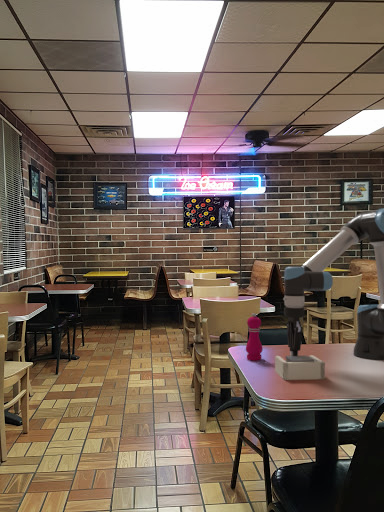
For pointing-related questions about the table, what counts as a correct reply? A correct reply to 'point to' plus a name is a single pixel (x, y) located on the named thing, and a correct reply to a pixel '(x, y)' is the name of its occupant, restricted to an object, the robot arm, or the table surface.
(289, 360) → the rounded grey cube
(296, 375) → the bay
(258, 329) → the pepper mill
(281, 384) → the table surface
